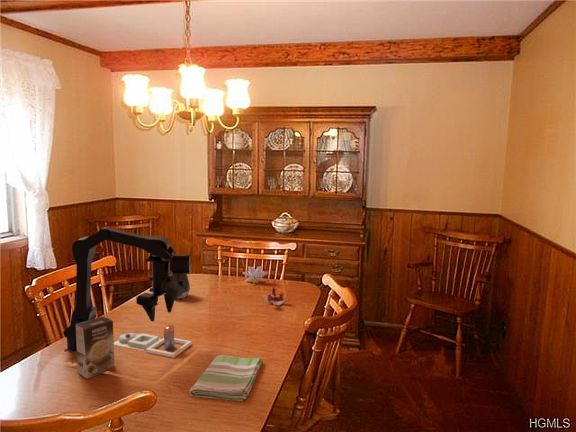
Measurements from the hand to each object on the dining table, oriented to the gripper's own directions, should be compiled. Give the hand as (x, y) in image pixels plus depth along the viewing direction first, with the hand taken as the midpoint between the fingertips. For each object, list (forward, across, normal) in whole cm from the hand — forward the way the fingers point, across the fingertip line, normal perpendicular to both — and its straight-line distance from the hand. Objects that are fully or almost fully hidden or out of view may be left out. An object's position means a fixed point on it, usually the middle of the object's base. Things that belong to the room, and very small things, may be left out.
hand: (161, 316), depth 150 cm
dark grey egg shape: (+12, +48, +27) cm, 56 cm away
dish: (+12, -1, -4) cm, 12 cm away
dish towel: (+12, -9, -32) cm, 35 cm away
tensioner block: (+12, -1, +10) cm, 15 cm away
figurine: (+11, +57, -19) cm, 62 cm away
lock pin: (+11, -1, -4) cm, 12 cm away
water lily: (+11, +83, +3) cm, 84 cm away
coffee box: (+12, -21, +9) cm, 26 cm away
